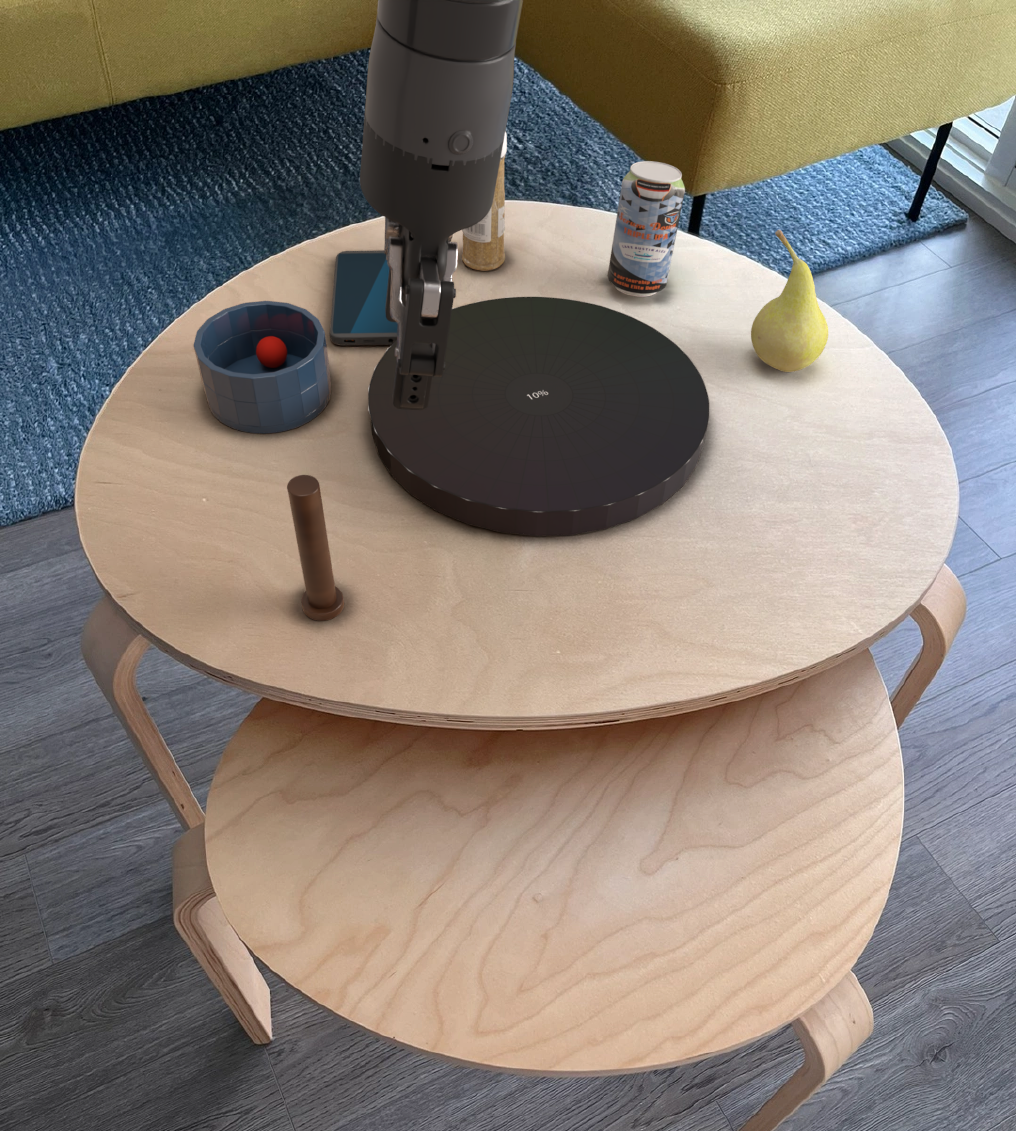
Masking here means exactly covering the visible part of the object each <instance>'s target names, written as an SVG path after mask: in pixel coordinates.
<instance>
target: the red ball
mask: <svg viewBox="0 0 1016 1131" xmlns="http://www.w3.org/2000/svg"><path fill="white" fill-rule="evenodd" d="M256 355H257V358H258V360H259V361H260V362H261V363H262V364H263V365H264V366H266V367H269V368H276V367H279V366H281V365H282V364H283V363H284V362H285V360H286V358H287V348H286V346H285V344H284V342H283V341H282V340H280V339H279V338H277V337H274V336H268V337H265V338H263V339H261V340H260V341H259V343H258V345H257V348H256Z"/></svg>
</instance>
